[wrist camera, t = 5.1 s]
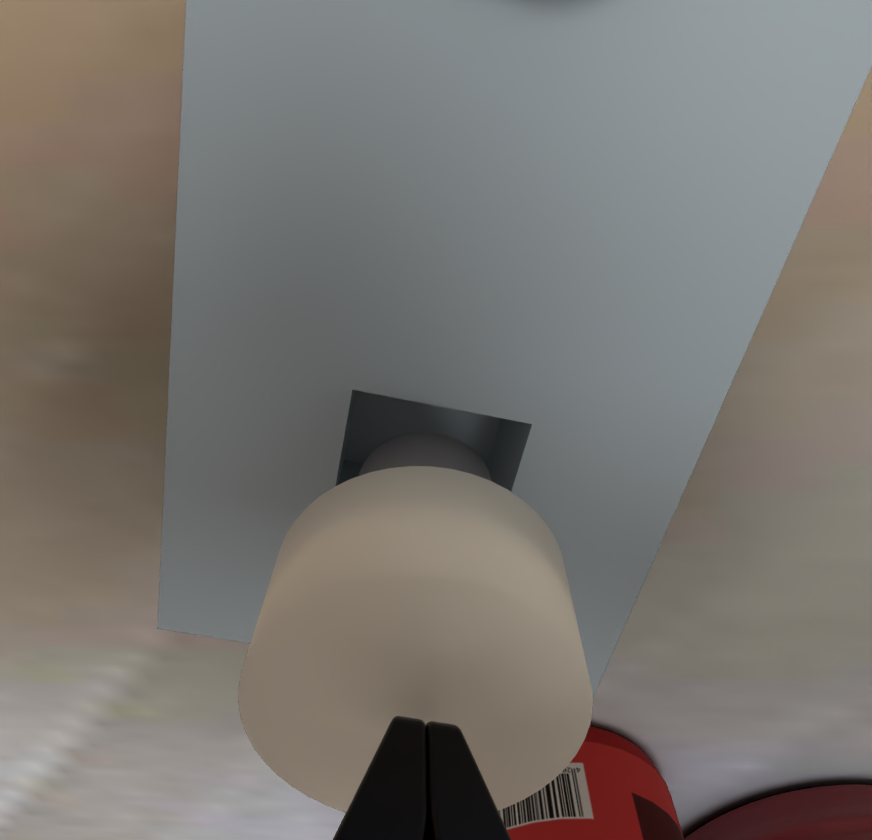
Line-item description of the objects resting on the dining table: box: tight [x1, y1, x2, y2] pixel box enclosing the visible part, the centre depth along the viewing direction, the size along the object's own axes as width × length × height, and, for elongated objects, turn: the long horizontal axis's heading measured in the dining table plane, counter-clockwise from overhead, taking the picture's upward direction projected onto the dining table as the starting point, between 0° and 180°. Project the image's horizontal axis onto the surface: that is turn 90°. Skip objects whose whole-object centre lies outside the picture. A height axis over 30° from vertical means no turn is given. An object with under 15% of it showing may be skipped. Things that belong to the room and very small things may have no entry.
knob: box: [238, 432, 593, 812], centre depth 12 cm, size 5×5×5 cm
